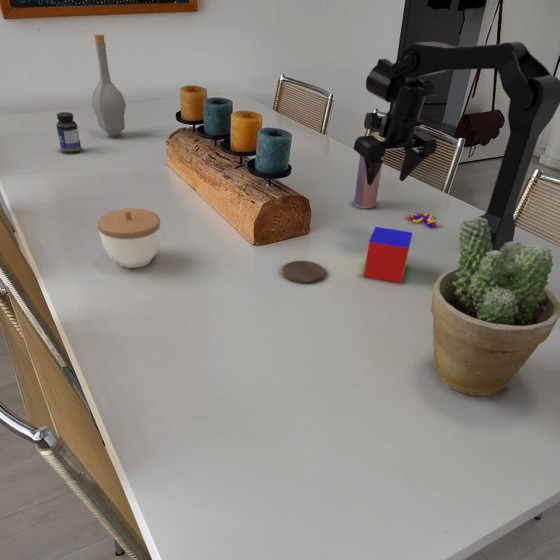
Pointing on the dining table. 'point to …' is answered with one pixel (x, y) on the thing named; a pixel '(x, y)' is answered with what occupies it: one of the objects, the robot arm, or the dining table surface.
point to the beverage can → (366, 187)
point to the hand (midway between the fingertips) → (385, 182)
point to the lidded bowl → (130, 236)
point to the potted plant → (490, 311)
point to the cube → (387, 254)
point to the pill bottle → (68, 133)
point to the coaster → (303, 272)
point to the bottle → (107, 95)
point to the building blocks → (424, 219)
